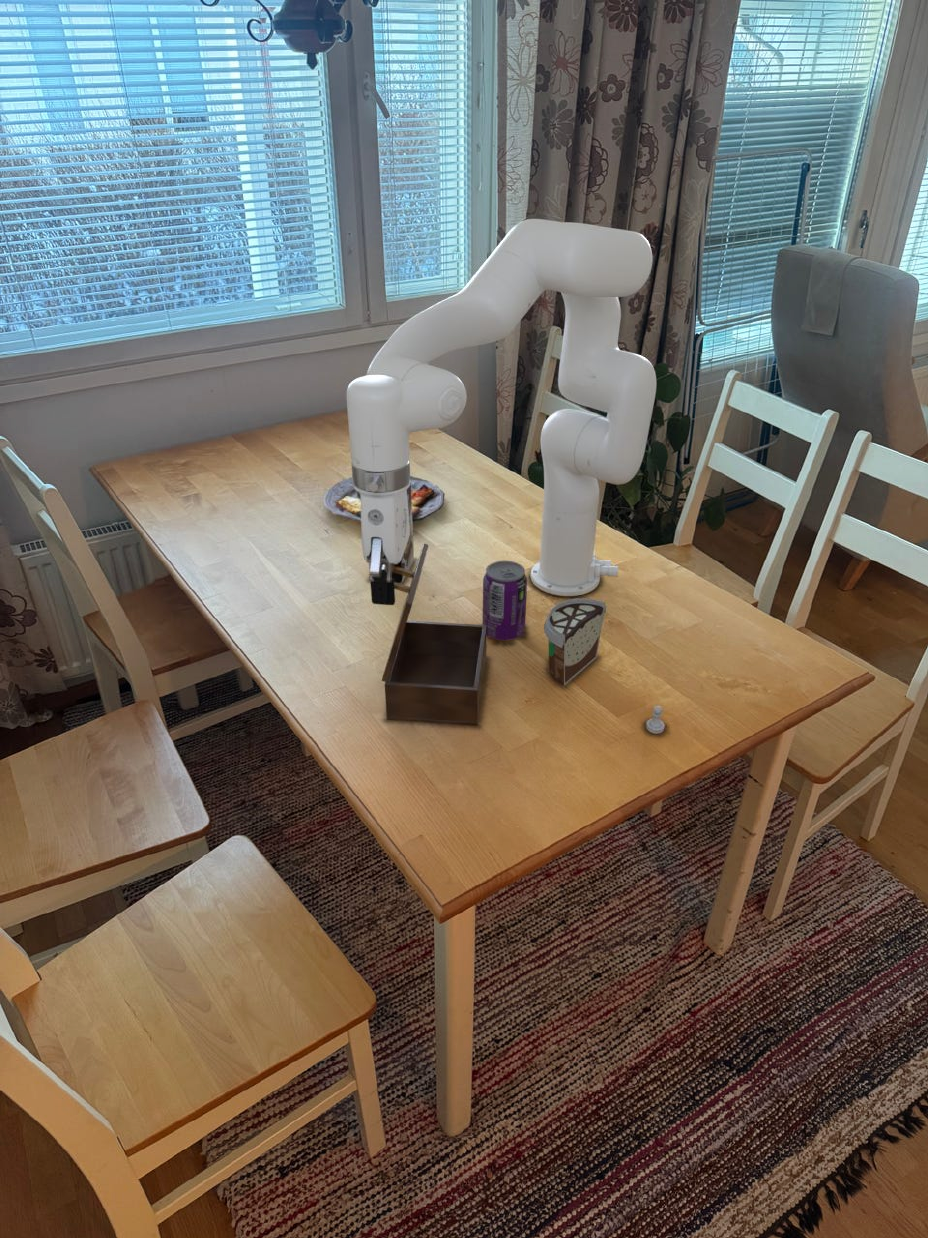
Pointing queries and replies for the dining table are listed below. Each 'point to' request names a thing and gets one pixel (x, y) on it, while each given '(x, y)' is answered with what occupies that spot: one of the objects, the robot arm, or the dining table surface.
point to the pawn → (655, 721)
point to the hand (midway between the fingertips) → (387, 591)
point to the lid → (407, 605)
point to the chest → (437, 673)
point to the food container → (573, 636)
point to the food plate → (348, 500)
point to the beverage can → (504, 600)
